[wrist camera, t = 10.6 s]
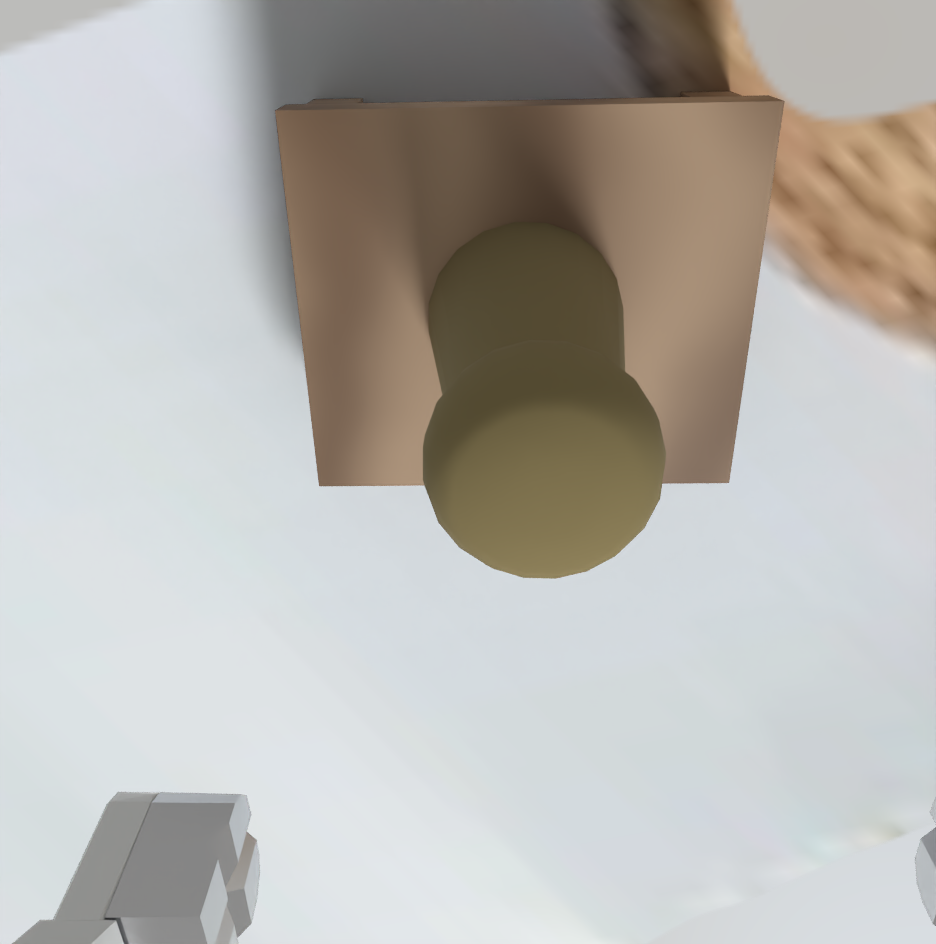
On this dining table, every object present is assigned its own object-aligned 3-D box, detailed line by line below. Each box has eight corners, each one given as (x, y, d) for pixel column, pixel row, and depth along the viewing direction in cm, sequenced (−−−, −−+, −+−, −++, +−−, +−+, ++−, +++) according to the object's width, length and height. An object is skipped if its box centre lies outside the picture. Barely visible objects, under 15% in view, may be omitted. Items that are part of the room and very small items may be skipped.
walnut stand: (340, 423, 34) (319, 486, 30) (307, 92, 28) (275, 110, 24) (697, 419, 34) (729, 482, 29) (737, 84, 28) (784, 101, 24)
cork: (617, 208, 25) (701, 340, 16) (627, 397, 28) (702, 609, 18) (412, 235, 26) (368, 380, 16) (443, 419, 28) (422, 636, 19)
